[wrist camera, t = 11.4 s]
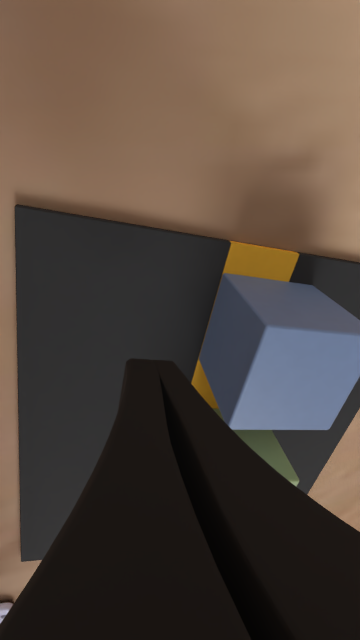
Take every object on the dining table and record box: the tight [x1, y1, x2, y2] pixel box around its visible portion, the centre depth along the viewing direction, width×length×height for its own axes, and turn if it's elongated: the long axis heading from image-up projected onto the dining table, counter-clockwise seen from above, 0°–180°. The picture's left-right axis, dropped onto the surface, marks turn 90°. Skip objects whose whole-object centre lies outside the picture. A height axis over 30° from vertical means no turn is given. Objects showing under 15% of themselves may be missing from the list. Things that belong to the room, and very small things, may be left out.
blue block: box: [199, 273, 360, 430], centre depth 13 cm, size 4×4×4 cm
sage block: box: [212, 408, 299, 486], centre depth 16 cm, size 4×4×4 cm
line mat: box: [15, 205, 360, 562], centre depth 18 cm, size 21×18×1 cm
